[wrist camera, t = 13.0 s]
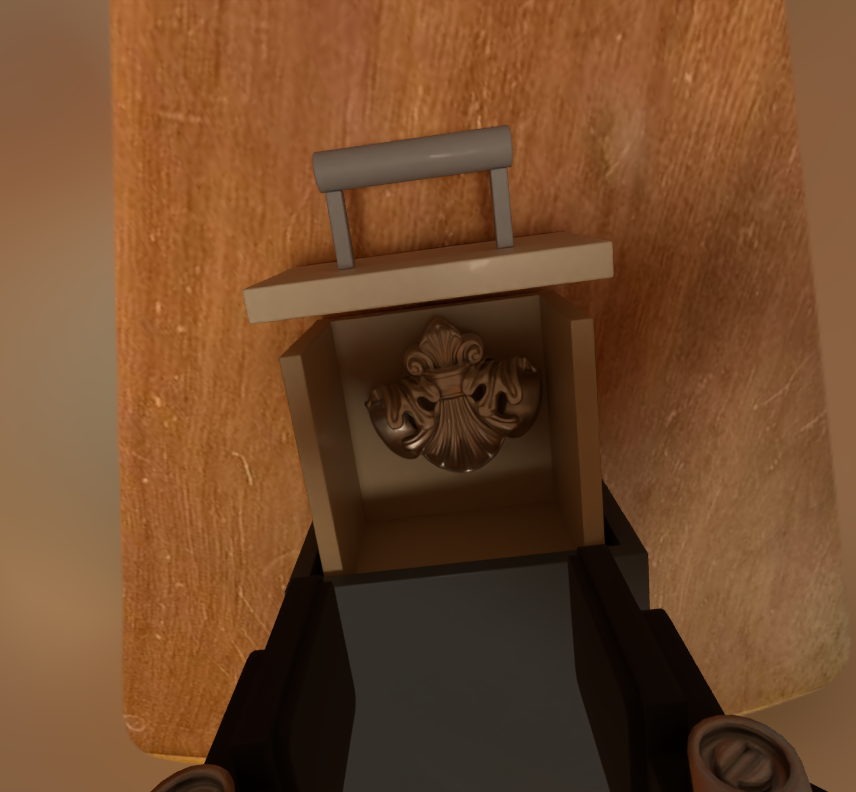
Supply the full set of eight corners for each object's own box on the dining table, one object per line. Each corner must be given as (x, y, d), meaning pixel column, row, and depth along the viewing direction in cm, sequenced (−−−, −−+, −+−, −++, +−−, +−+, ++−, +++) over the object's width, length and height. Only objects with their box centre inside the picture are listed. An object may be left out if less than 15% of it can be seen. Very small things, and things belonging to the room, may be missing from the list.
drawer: (273, 170, 27) (212, 156, 19) (557, 130, 26) (607, 100, 19) (342, 528, 32) (315, 626, 24) (580, 501, 31) (627, 593, 24)
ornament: (524, 292, 27) (537, 305, 24) (549, 434, 29) (564, 465, 26) (349, 331, 28) (337, 349, 24) (385, 467, 30) (379, 502, 26)
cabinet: (326, 482, 32) (283, 592, 23) (586, 452, 31) (648, 553, 22) (370, 704, 36) (348, 872, 27) (599, 681, 36) (656, 845, 27)
